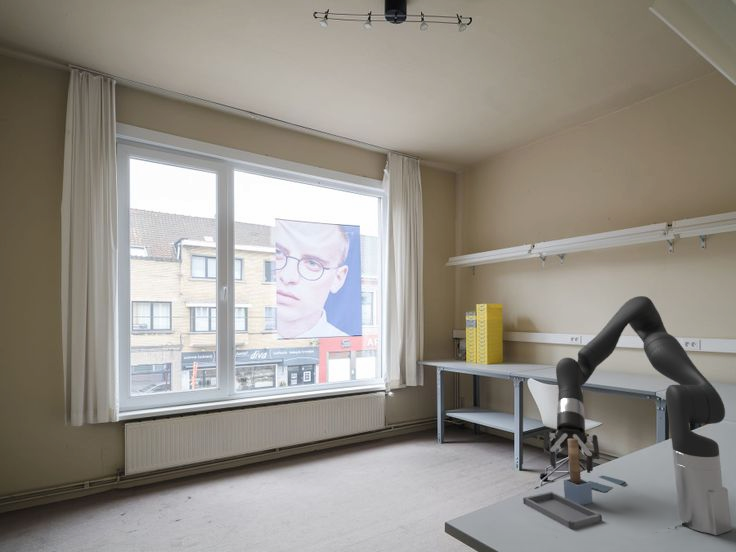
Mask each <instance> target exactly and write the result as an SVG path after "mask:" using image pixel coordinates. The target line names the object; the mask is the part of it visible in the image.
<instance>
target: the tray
mask: <svg viewBox="0 0 736 552" xmlns="http://www.w3.org/2000/svg"><path fill="white" fill-rule="evenodd" d="M522 501H523V502H522V503H523V504H524V505H525V506H527V507H529V508H531V509H532V510H534V511H537V512H539V513H541V514H542V515H544V516H547V517H548V518H550V519H552V521H553V520H554V521H556V522H557V523H559V524H561V525H563V526H564V527H566V528H568V529H570V530H575V529H578V528H582V527H586V526H589V525H590V526H591V525H594V524H596V523H600V522H603V515H602V514H601V513H598V512H596V511H594V510H592V509H590V508H588V507H585V506H584V505H579V504H577V503H575V502H573V501H571V500H569V499H566V498H565V496H562V495H561V494H558V493H557V492H556V493H555V492H553V491H548V492H544V493H538V494H535V495H529V496H525V497H523V498H522Z"/></svg>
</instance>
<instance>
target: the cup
mask: <svg viewBox="0 0 736 552" xmlns="http://www.w3.org/2000/svg"><path fill="white" fill-rule="evenodd" d="M563 491H564V498H566V499H569V500H571V501H573V502H575V503H577V504H579V505H582V506H584V505H585V506H586V505H588V504H592V503H593V490H592V489H591V483H590V482H588V481H587V480H585V479H582V478H581V484H580V485H577V484H574V483H572V482H570V478H567V479H563Z"/></svg>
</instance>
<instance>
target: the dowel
mask: <svg viewBox="0 0 736 552" xmlns="http://www.w3.org/2000/svg"><path fill="white" fill-rule="evenodd" d="M567 452H568V463H569V464H568V467H569V477H570V478H569V479H570V482H572V483H574V484H577V485H580V484H581V479H582V478H581V465H580V450H579V448H578V440H577V439H568V450H567Z"/></svg>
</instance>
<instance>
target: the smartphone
mask: <svg viewBox="0 0 736 552" xmlns="http://www.w3.org/2000/svg"><path fill="white" fill-rule="evenodd" d="M598 478H600V479H602V480H605V481H608V482H610V483H612V484H616V485H619V486H621V487H624V486H626V485H627V482H626V481H625V480H621V479H619V478H615V477H610V476H606V475H600V476H598ZM587 482H590V483H591V489H592V491H595V492H599V493H603V494H606V493H608V492H610V491H611V490H613V489H614V487H612V486H610V485H605V484H602V483H599V482H595V481H591V480H588V481H587Z"/></svg>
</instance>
